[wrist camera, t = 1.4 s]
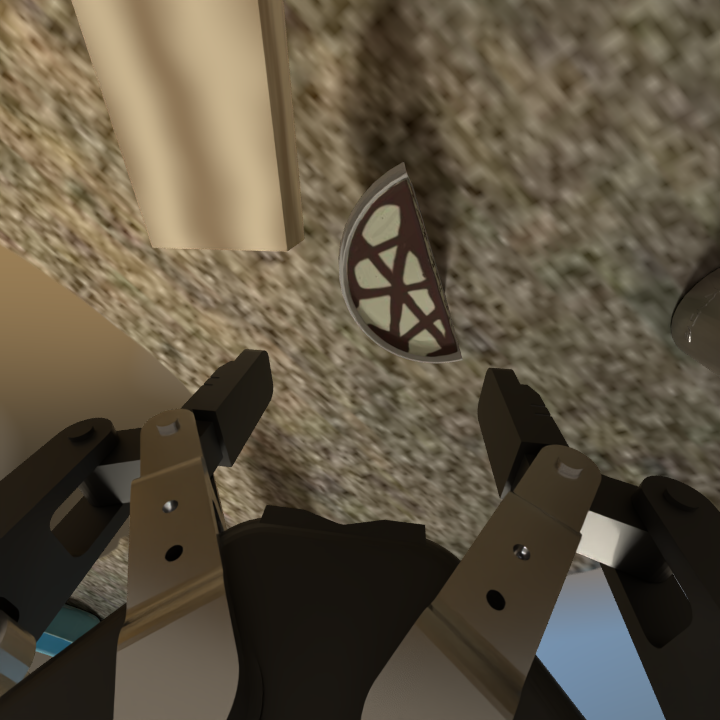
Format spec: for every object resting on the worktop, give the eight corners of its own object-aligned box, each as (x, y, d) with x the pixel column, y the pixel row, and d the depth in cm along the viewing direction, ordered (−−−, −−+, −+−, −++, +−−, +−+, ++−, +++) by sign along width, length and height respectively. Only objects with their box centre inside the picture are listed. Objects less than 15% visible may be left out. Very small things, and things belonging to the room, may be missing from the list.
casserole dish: (-5, 603, 93) (-34, 633, 87) (-26, 569, 81) (-61, 602, 75) (120, 641, 96) (101, 673, 90) (117, 615, 84) (95, 649, 78)
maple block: (282, -33, 20) (247, -86, 16) (305, 238, 28) (287, 251, 24) (121, -20, 21) (50, -66, 17) (189, 235, 30) (152, 247, 25)
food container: (332, 196, 26) (294, 212, 17) (405, 162, 24) (403, 161, 16) (386, 328, 31) (376, 389, 23) (449, 308, 29) (464, 366, 21)
